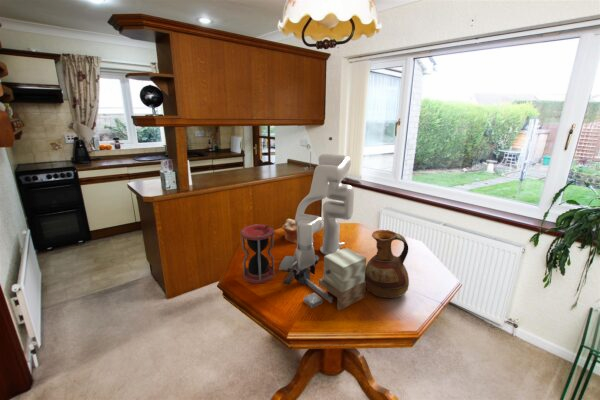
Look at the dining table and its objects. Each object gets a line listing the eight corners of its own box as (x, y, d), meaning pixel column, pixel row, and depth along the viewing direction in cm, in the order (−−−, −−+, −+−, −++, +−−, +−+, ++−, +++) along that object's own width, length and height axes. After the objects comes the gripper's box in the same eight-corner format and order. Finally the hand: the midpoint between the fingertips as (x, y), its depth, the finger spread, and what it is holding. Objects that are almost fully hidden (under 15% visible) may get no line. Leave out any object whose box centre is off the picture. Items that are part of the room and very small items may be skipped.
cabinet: (343, 282, 143) (345, 246, 137) (364, 297, 132) (368, 258, 126) (318, 294, 134) (319, 255, 128) (339, 310, 123) (341, 269, 117)
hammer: (304, 278, 146) (305, 266, 144) (334, 301, 130) (335, 288, 127) (298, 281, 144) (298, 268, 142) (328, 304, 127) (328, 291, 125)
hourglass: (276, 281, 144) (275, 235, 136) (243, 285, 141) (241, 238, 133) (272, 265, 159) (271, 222, 151) (242, 268, 156) (240, 225, 148)
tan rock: (277, 239, 190) (276, 218, 186) (305, 229, 207) (305, 209, 203) (291, 247, 180) (290, 224, 176) (319, 235, 198) (320, 214, 193)
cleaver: (293, 286, 141) (293, 282, 140) (274, 285, 141) (274, 281, 141) (299, 257, 169) (299, 254, 168) (282, 256, 169) (282, 253, 169)
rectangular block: (314, 296, 133) (314, 292, 132) (322, 303, 128) (322, 299, 127) (303, 301, 129) (303, 297, 129) (312, 308, 125) (312, 304, 124)
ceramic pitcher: (360, 278, 147) (364, 223, 138) (400, 279, 147) (407, 224, 138) (367, 302, 129) (373, 241, 120) (413, 303, 128) (422, 242, 119)
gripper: (314, 237, 146) (313, 267, 151) (285, 247, 136) (286, 278, 141) (323, 243, 140) (323, 274, 145) (294, 253, 130) (295, 286, 136)
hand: (304, 276), depth 143 cm, fingers open, 9 cm apart
